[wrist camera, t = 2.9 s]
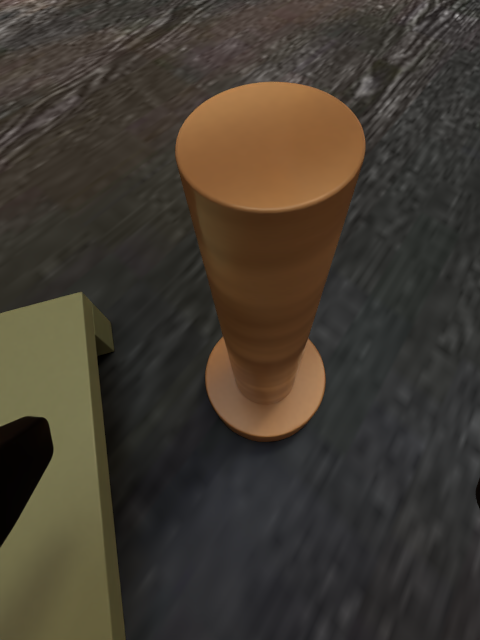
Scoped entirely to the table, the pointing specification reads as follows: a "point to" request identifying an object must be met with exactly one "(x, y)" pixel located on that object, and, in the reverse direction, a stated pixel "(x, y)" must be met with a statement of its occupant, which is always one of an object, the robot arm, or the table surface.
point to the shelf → (60, 478)
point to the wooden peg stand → (268, 241)
